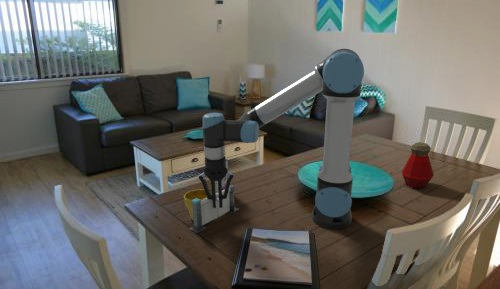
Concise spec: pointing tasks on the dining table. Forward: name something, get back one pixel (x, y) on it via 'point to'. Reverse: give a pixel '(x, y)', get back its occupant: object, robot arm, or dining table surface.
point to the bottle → (418, 166)
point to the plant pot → (192, 195)
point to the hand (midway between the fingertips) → (218, 215)
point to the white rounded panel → (209, 212)
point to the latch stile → (197, 216)
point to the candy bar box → (222, 180)
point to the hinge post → (232, 203)
